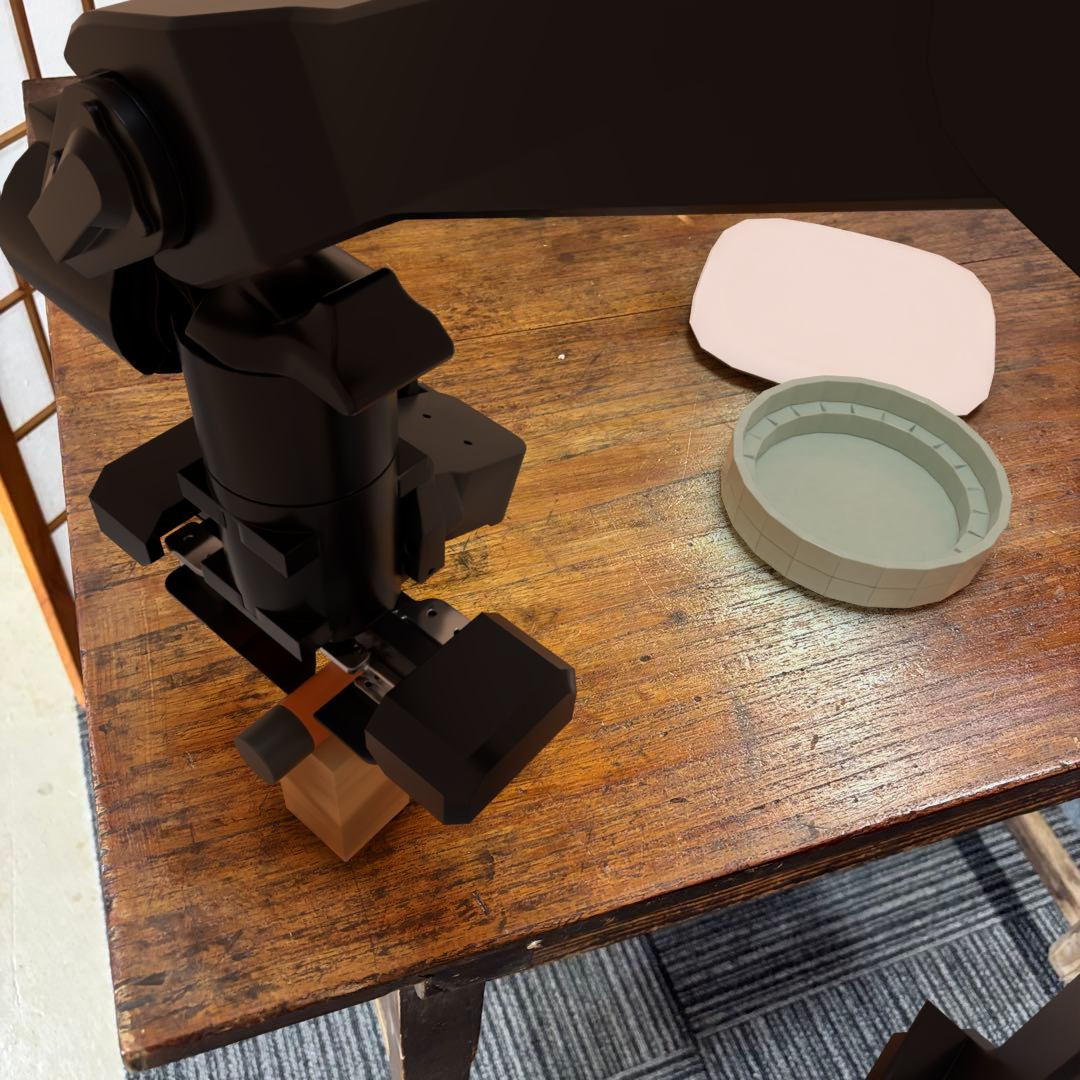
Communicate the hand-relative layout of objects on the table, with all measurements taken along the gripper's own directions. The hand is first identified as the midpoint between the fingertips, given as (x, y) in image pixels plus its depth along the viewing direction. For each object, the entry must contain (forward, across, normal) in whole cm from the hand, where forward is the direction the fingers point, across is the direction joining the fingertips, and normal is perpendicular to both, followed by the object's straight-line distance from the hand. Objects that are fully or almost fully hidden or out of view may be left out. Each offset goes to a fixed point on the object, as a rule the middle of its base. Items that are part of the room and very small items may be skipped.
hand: (338, 722), depth 42 cm
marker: (-1, 0, 0) cm, 1 cm away
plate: (+7, +2, -51) cm, 52 cm away
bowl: (+7, -8, -34) cm, 36 cm away
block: (+7, 0, 0) cm, 7 cm away
